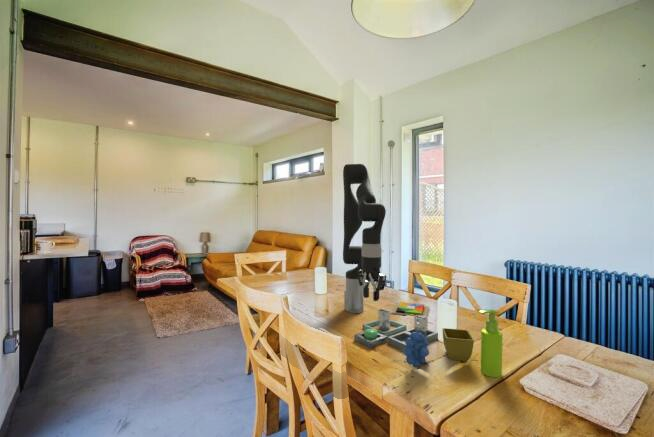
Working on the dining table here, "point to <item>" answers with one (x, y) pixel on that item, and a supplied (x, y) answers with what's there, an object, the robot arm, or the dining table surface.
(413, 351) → the grapes
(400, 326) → the tray
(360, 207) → the robot arm
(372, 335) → the button
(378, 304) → the dining table surface
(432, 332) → the tray
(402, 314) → the wooden puzzle
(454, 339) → the flower pot
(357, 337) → the grey button housing
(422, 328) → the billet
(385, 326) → the cylinder
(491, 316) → the soap dispenser
